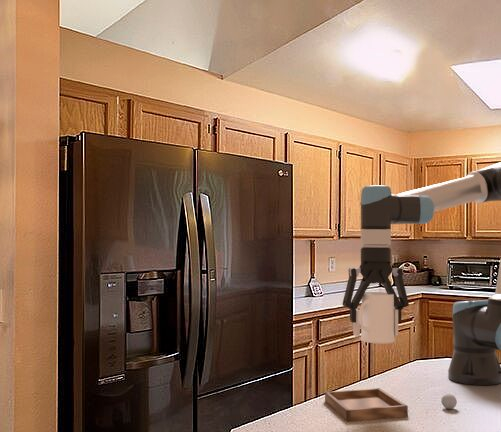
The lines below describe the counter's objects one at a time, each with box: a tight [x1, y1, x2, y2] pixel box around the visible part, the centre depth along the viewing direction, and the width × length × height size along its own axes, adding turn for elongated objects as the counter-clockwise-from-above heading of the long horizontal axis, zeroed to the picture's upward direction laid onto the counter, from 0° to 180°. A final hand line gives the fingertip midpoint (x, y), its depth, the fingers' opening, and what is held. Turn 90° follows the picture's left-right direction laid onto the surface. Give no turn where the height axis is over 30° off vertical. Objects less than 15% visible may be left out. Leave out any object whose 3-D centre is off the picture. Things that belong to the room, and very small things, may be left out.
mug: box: [358, 291, 396, 345], centre depth 154 cm, size 12×8×12 cm
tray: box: [324, 387, 409, 422], centre depth 151 cm, size 15×17×2 cm
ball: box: [441, 393, 458, 410], centre depth 149 cm, size 4×4×4 cm
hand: (375, 335), depth 154 cm, fingers closed on mug, 9 cm apart
